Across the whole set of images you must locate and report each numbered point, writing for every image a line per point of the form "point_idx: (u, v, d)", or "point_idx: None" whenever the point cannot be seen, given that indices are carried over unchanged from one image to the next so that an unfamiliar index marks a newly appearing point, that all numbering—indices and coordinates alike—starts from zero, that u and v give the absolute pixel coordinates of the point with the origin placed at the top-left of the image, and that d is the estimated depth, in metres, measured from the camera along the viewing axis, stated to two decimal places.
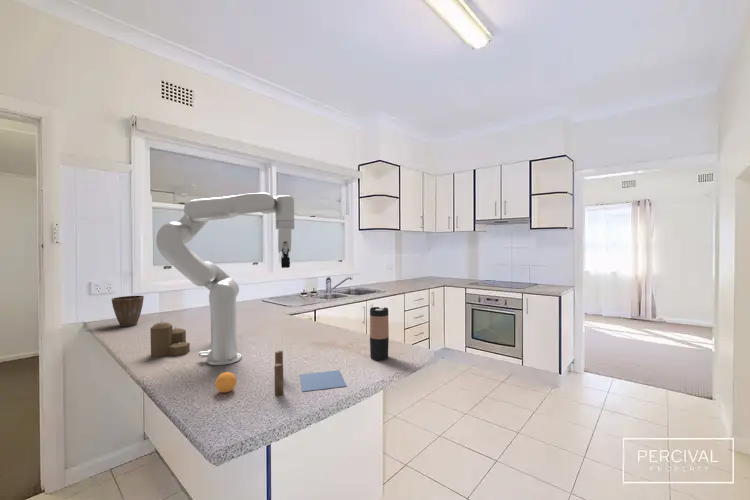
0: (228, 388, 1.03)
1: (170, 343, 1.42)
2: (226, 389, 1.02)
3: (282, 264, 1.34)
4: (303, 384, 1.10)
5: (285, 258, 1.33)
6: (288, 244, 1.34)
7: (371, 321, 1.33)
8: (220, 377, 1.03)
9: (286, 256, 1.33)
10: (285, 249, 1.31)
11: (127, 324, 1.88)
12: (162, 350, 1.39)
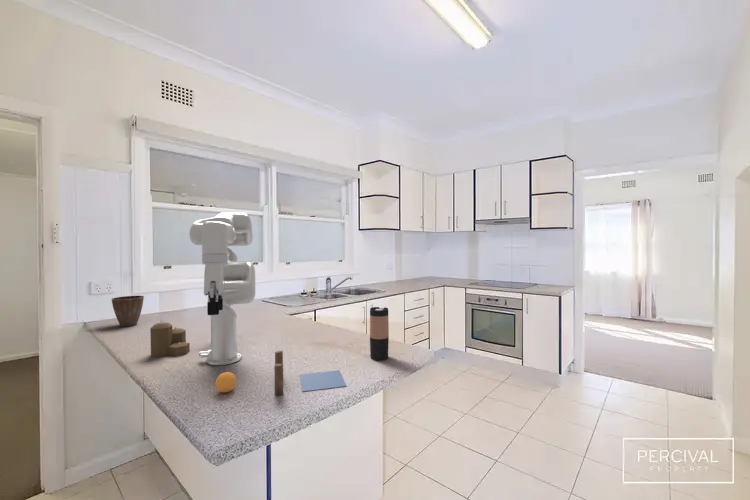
0: (228, 388, 1.03)
1: (170, 343, 1.42)
2: (226, 389, 1.02)
3: (208, 310, 1.03)
4: (303, 384, 1.10)
5: (212, 303, 1.03)
6: (217, 284, 1.04)
7: (371, 321, 1.33)
8: (220, 377, 1.03)
9: (213, 300, 1.03)
10: (211, 292, 1.01)
11: (127, 324, 1.88)
12: (162, 350, 1.39)
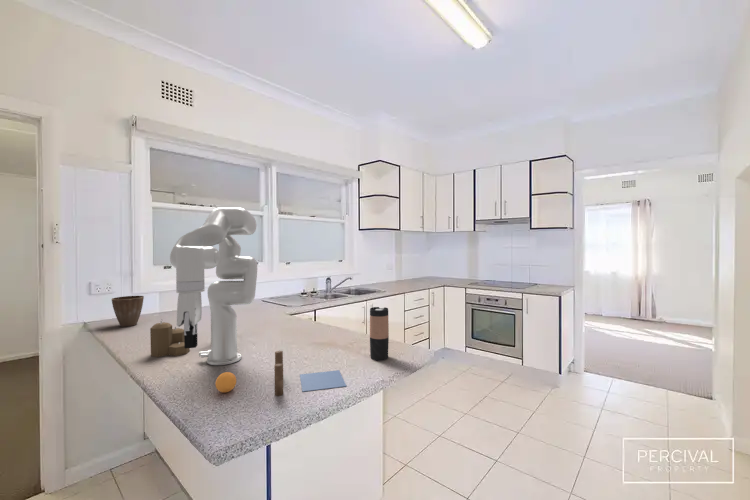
0: (228, 388, 1.03)
1: (170, 343, 1.42)
2: (226, 389, 1.02)
3: (185, 344, 1.00)
4: (303, 384, 1.10)
5: (189, 336, 1.00)
6: (191, 323, 0.98)
7: (371, 321, 1.33)
8: (220, 377, 1.03)
9: (190, 333, 1.00)
10: (186, 331, 0.97)
11: (127, 324, 1.88)
12: (162, 350, 1.39)
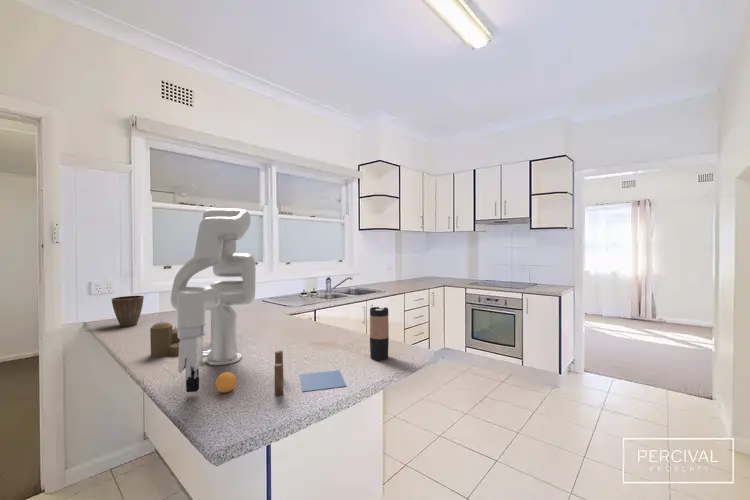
0: (228, 388, 1.03)
1: (170, 343, 1.42)
2: (226, 389, 1.02)
3: (187, 388, 1.01)
4: (303, 384, 1.10)
5: (191, 380, 1.01)
6: (193, 369, 0.98)
7: (371, 321, 1.33)
8: (220, 377, 1.03)
9: (192, 378, 1.00)
10: (188, 377, 0.98)
11: (127, 324, 1.88)
12: (162, 350, 1.39)
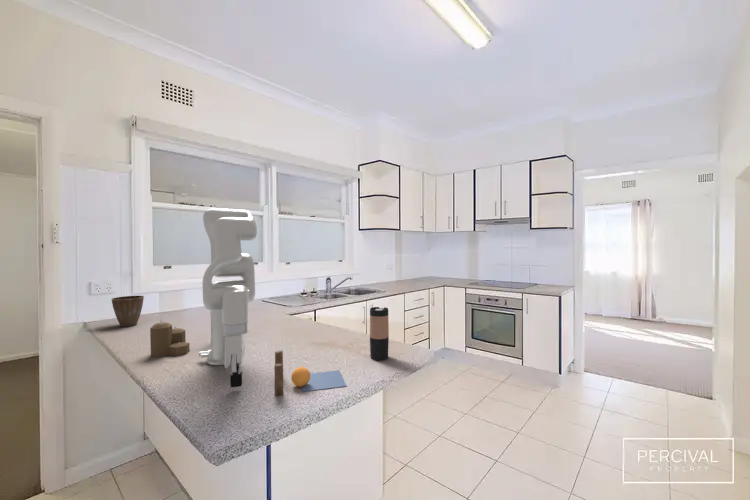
0: (300, 384, 1.06)
1: (170, 343, 1.42)
2: (298, 384, 1.06)
3: (231, 383, 1.05)
4: None
5: (235, 375, 1.04)
6: (238, 364, 1.02)
7: (371, 321, 1.33)
8: (305, 371, 1.08)
9: (236, 373, 1.04)
10: (234, 372, 1.01)
11: (127, 324, 1.88)
12: (162, 350, 1.39)
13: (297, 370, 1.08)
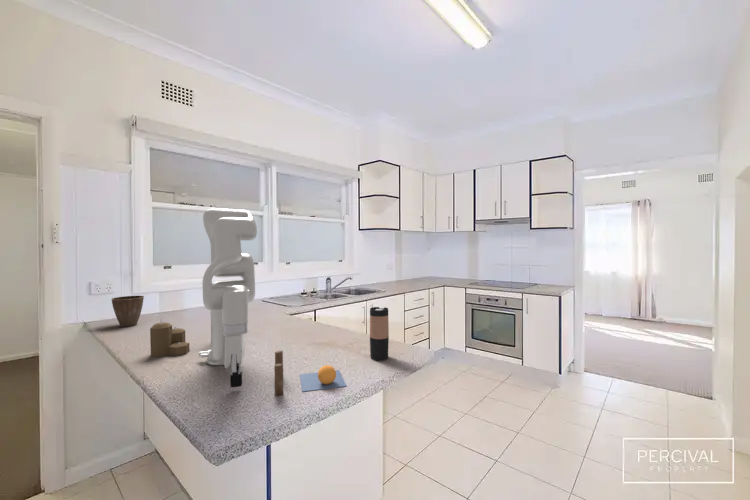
0: (326, 373, 1.08)
1: (170, 343, 1.42)
2: (327, 373, 1.08)
3: (231, 383, 1.05)
4: (303, 384, 1.10)
5: (235, 375, 1.04)
6: (238, 364, 1.02)
7: (371, 321, 1.33)
8: (325, 384, 1.09)
9: (236, 373, 1.04)
10: (234, 372, 1.01)
11: (127, 324, 1.88)
12: (162, 350, 1.39)
13: (332, 381, 1.10)
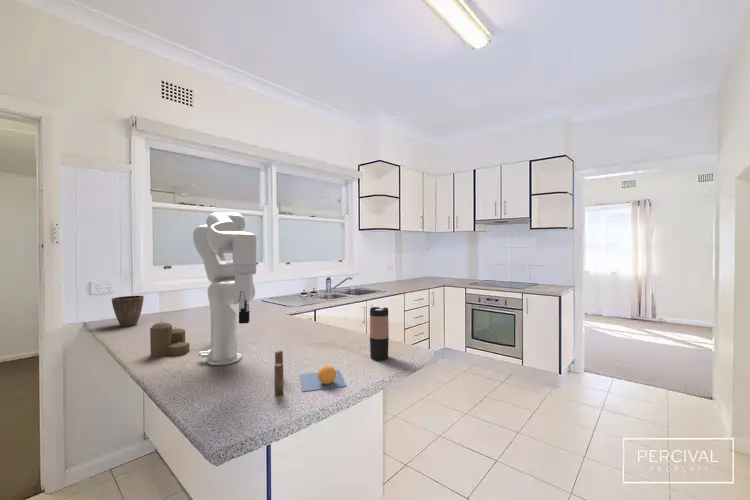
0: (326, 373, 1.08)
1: (170, 343, 1.42)
2: (327, 373, 1.08)
3: (240, 319, 1.13)
4: (303, 384, 1.10)
5: (243, 313, 1.13)
6: (246, 301, 1.10)
7: (371, 321, 1.33)
8: (325, 384, 1.09)
9: (244, 310, 1.12)
10: (242, 308, 1.09)
11: (127, 324, 1.88)
12: (162, 350, 1.39)
13: (332, 381, 1.10)
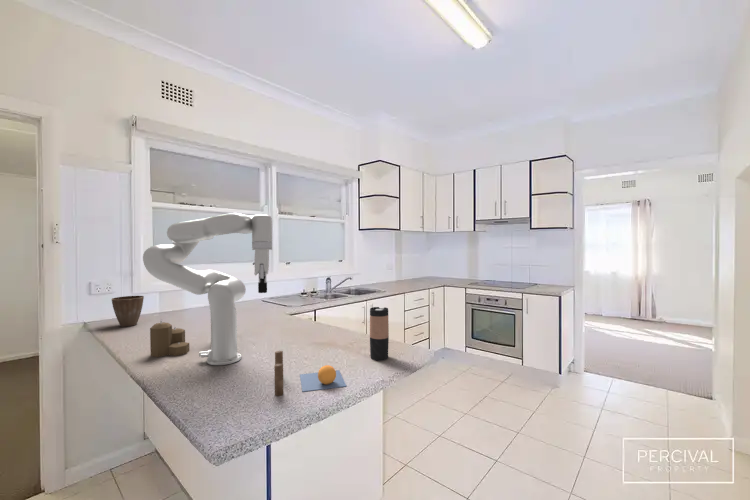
0: (326, 373, 1.08)
1: (170, 343, 1.42)
2: (327, 373, 1.08)
3: (259, 289, 1.31)
4: (303, 384, 1.10)
5: (262, 283, 1.31)
6: (265, 272, 1.28)
7: (371, 321, 1.33)
8: (325, 384, 1.09)
9: (263, 281, 1.30)
10: (261, 278, 1.28)
11: (127, 324, 1.88)
12: (162, 350, 1.39)
13: (332, 381, 1.10)
